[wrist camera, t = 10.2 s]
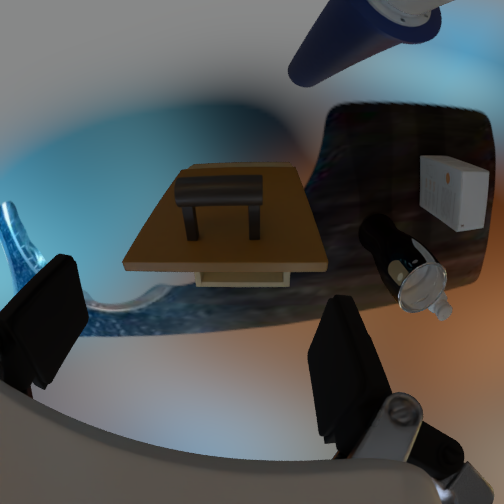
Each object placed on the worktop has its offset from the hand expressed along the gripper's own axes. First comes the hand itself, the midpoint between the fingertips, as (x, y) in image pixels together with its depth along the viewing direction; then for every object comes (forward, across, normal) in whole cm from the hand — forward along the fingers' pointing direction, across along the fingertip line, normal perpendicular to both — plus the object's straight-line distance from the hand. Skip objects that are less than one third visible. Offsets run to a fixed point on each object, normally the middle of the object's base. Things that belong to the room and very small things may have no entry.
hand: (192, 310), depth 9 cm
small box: (+28, -29, -4) cm, 41 cm away
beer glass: (+28, -21, +6) cm, 36 cm away
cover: (+15, 0, +1) cm, 15 cm away
